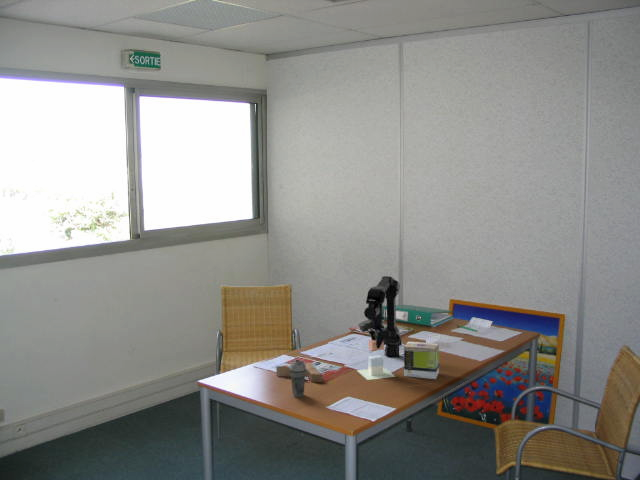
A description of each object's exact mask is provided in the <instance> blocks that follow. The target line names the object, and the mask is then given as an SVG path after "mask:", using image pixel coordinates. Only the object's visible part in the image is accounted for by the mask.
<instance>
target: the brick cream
mask: <svg viewBox="0 0 640 480" xmlns="http://www.w3.org/2000/svg"><path fill="white" fill-rule="evenodd" d="M367 365H368V364H367ZM383 367H384V365H383V366H377V367H370V366H369V365H368V367H367V369H368V373H369V374H370V375H379V374H383Z"/></svg>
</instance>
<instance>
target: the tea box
mask: <svg viewBox="0 0 640 480" xmlns="http://www.w3.org/2000/svg"><path fill="white" fill-rule="evenodd" d="M439 346H440V344H439V343H437V342H436V343H435V342H419V341H407V342H406V343H405V345H404V347H403V360H404V361H403V369H404V370H403V372H404V374H403V375H404V377H409V378H410V377H411V378H412V377H413V378H422V379H431V380H437V377H438V376H439V371H440V352H439V351H440V350H439V349H440V347H439Z"/></svg>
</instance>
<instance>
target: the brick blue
mask: <svg viewBox="0 0 640 480" xmlns="http://www.w3.org/2000/svg"><path fill="white" fill-rule="evenodd" d="M367 365H369V366H370V367H377V366H383V367H384V357H383V356H382V355H380V354H379V355H378V354H377V355H370V356H367Z"/></svg>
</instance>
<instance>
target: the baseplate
mask: <svg viewBox="0 0 640 480" xmlns="http://www.w3.org/2000/svg"><path fill="white" fill-rule="evenodd" d="M356 372H357V373H359V374H360V375H361V376H363V378H365V380H367V381H371V380H377V379H380V380H381V379H387V378H394V377H396V376H395V375H394V374H393V373H391V372H390V371H389V370H388V369H386V368H385V367H384V366H383V374H379V375H370V374H369V373H368V368H367V369H359V370H358V369H357V370H356Z"/></svg>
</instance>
